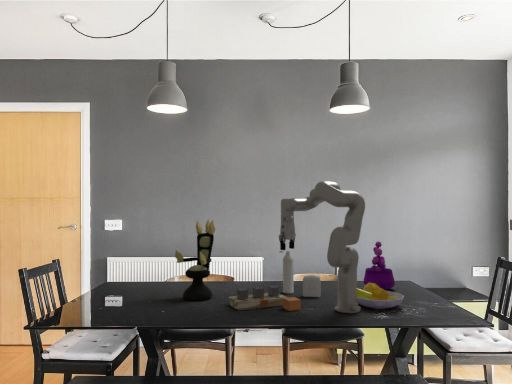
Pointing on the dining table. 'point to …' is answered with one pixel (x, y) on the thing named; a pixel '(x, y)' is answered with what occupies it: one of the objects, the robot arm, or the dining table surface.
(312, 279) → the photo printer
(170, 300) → the dining table surface
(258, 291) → the block
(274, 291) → the block
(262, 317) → the dining table surface
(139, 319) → the dining table surface
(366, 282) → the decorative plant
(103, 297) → the dining table surface
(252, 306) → the breaker board
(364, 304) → the fruit bowl
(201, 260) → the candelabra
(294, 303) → the cap
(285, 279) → the water bottle
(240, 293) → the block
